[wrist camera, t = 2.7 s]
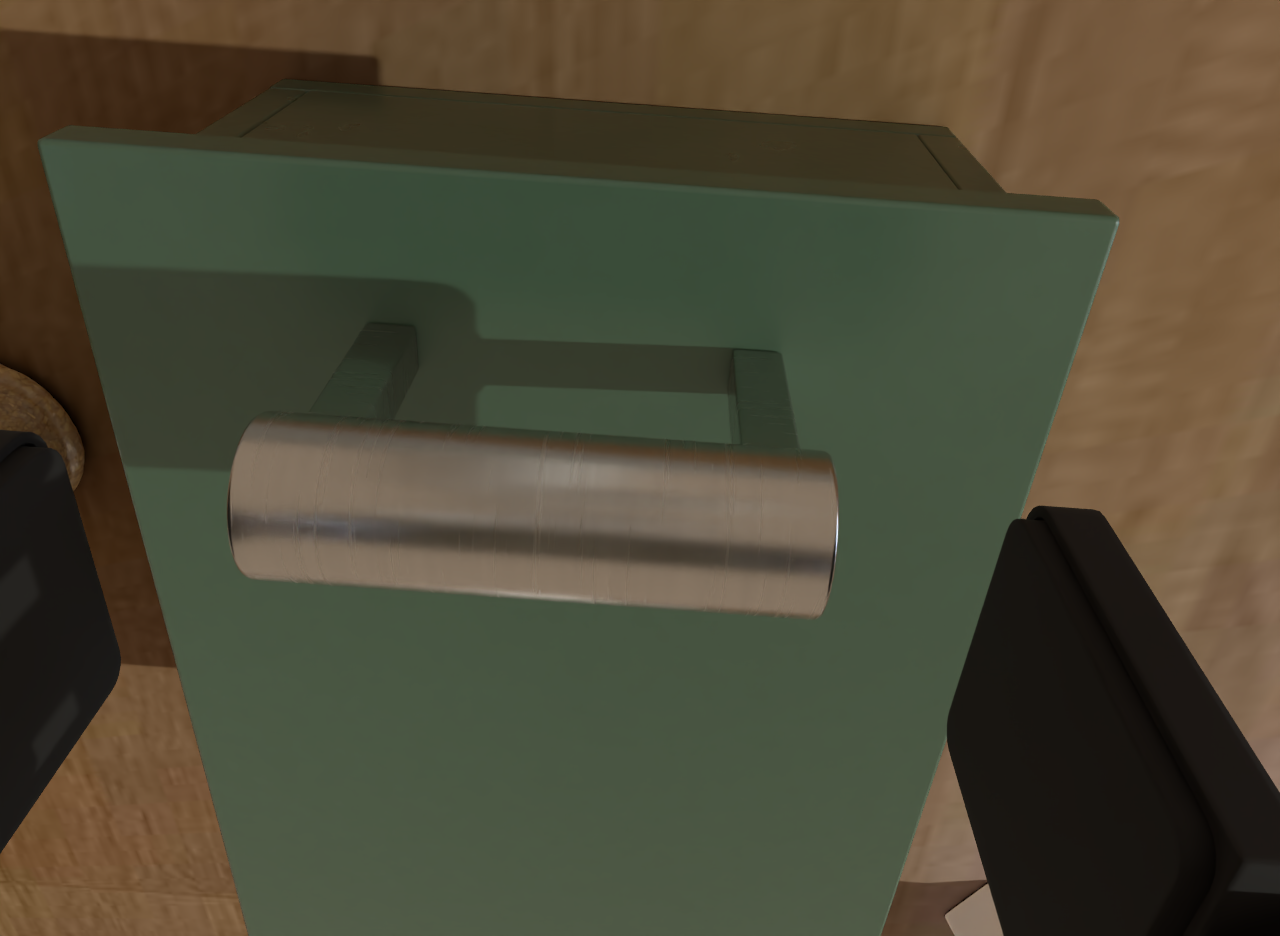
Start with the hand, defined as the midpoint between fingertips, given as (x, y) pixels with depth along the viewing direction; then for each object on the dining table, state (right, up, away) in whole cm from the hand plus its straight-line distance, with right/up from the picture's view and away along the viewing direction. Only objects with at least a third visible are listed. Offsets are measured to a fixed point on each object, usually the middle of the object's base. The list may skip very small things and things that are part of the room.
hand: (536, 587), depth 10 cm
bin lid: (0, -2, +8) cm, 8 cm away
